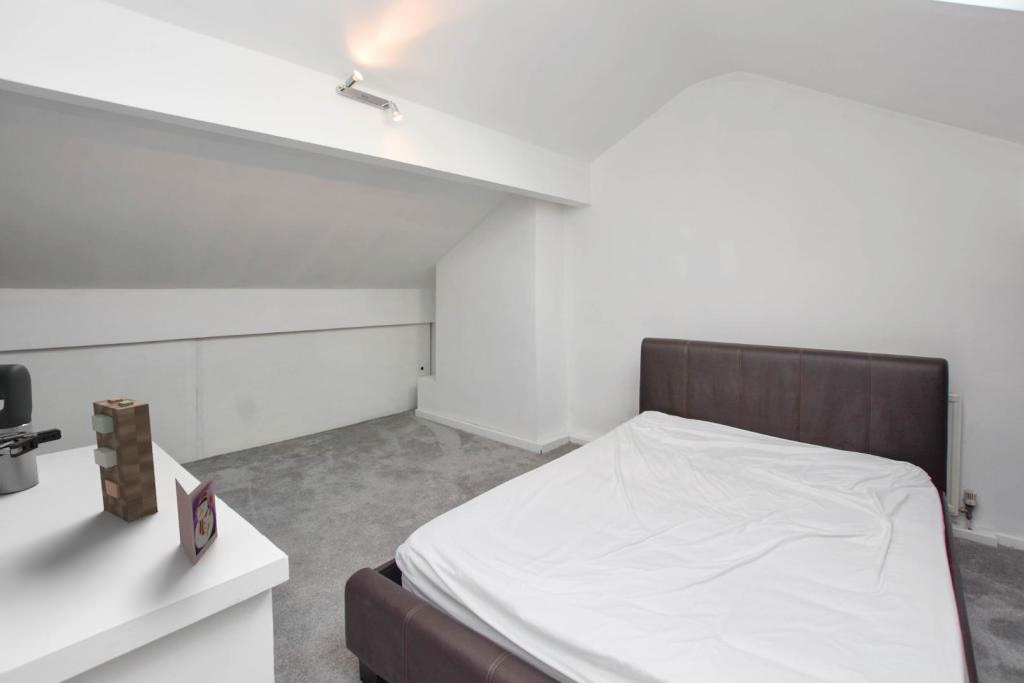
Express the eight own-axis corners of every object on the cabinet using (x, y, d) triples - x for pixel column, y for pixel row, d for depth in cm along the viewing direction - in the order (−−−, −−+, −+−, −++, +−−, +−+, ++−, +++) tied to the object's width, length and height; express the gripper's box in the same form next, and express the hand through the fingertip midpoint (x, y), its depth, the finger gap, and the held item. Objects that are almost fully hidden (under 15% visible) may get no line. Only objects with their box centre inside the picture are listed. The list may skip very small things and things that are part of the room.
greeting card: (198, 566, 97) (193, 494, 95) (157, 569, 96) (150, 497, 94) (221, 535, 108) (217, 471, 106) (185, 538, 107) (179, 473, 105)
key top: (92, 430, 113) (91, 415, 112) (109, 426, 116) (107, 412, 115) (103, 433, 110) (102, 419, 110) (120, 430, 113) (119, 415, 113)
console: (103, 510, 119) (92, 399, 115) (132, 500, 124) (122, 394, 120) (129, 522, 113) (118, 407, 109) (157, 511, 118) (148, 401, 115)
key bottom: (106, 493, 116) (105, 479, 116) (122, 488, 119) (120, 475, 118) (117, 498, 114) (116, 484, 113) (133, 493, 116) (132, 479, 116)
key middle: (95, 463, 114) (93, 449, 113) (111, 459, 116) (110, 445, 116) (106, 468, 111) (104, 453, 111) (122, 463, 114) (121, 449, 114)
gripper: (-52, 446, 87) (71, 421, 102) (-75, 433, 93) (44, 411, 108) (-46, 486, 88) (75, 455, 103) (-70, 471, 94) (48, 444, 109)
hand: (59, 433), depth 105 cm, fingers closed
